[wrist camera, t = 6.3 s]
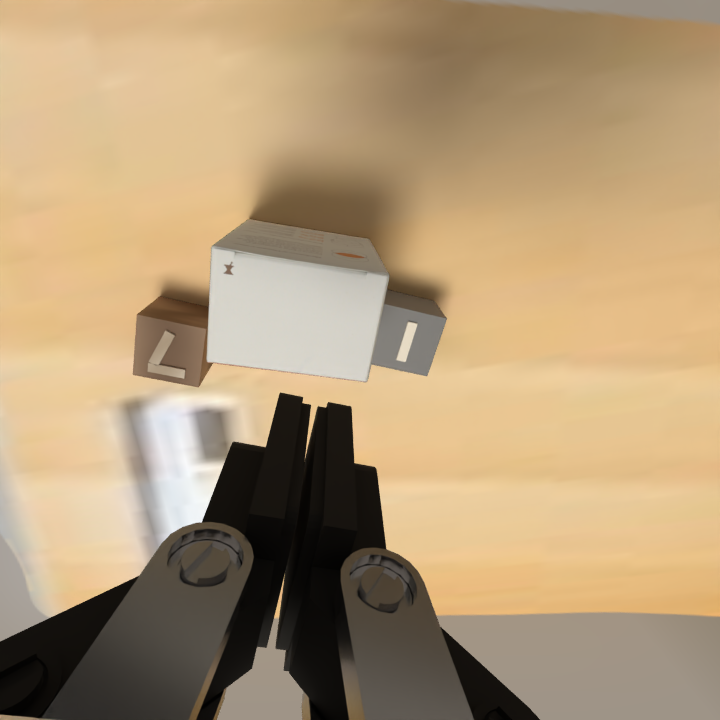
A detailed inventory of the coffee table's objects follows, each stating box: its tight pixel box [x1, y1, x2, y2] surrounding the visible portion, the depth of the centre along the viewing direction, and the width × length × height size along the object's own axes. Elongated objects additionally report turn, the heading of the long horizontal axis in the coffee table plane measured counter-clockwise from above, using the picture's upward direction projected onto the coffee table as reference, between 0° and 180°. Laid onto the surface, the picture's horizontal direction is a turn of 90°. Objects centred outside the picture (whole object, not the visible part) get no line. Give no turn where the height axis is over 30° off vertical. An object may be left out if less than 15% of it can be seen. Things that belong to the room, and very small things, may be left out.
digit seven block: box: [133, 297, 213, 387], centre depth 30 cm, size 4×4×4 cm
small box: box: [206, 219, 389, 382], centre depth 26 cm, size 8×6×10 cm
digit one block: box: [371, 290, 447, 376], centre depth 31 cm, size 4×4×4 cm
